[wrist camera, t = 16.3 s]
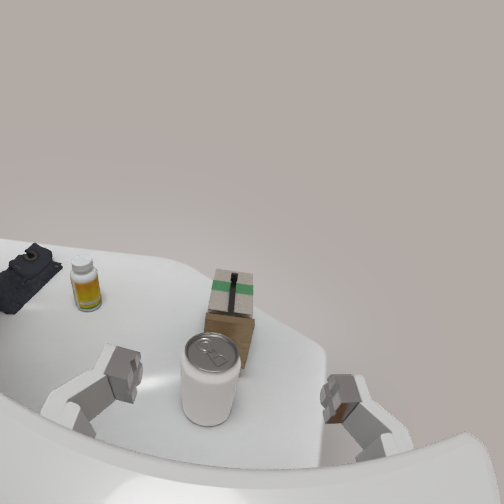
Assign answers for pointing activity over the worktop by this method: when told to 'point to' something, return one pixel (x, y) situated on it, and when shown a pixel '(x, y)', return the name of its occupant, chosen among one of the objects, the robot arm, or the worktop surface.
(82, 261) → the supplement bottle
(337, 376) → the robot arm
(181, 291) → the worktop surface
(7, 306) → the dark folded fabric
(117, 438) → the worktop surface
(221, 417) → the can
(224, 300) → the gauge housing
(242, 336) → the gauge plunger
